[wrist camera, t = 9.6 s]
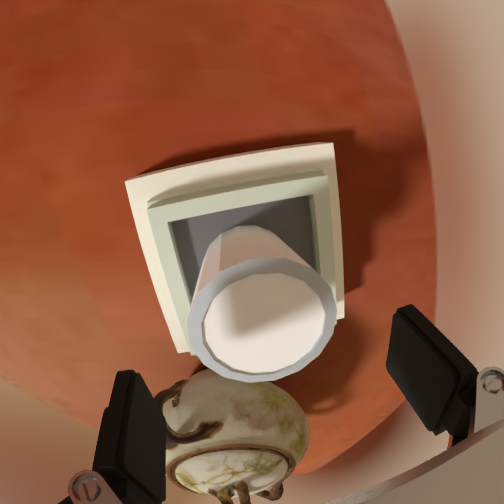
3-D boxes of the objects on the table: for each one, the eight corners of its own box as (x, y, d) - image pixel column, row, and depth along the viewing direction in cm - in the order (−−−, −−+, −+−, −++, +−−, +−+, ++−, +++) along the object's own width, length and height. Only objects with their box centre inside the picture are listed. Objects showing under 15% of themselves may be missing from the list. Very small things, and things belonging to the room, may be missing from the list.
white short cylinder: (180, 228, 18) (165, 278, 12) (291, 204, 19) (333, 241, 12) (207, 321, 21) (209, 395, 14) (303, 300, 21) (339, 364, 15)
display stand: (135, 176, 21) (112, 188, 16) (318, 142, 22) (350, 144, 17) (180, 332, 26) (176, 375, 21) (332, 300, 27) (357, 336, 22)
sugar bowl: (320, 408, 33) (361, 511, 19) (217, 452, 34) (227, 549, 20) (235, 293, 26) (264, 446, 12) (108, 362, 27) (71, 490, 13)
